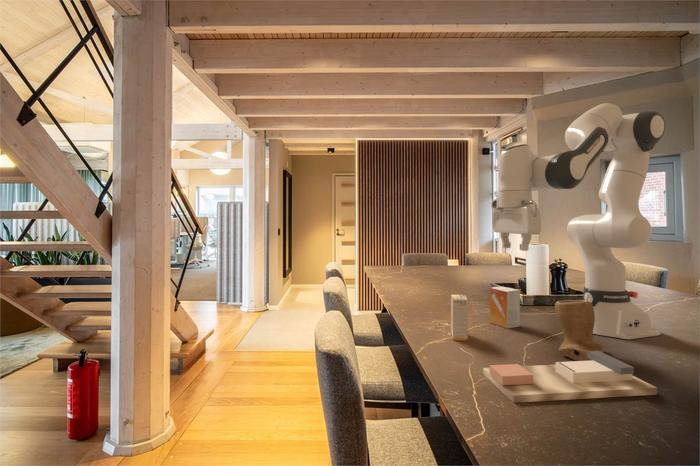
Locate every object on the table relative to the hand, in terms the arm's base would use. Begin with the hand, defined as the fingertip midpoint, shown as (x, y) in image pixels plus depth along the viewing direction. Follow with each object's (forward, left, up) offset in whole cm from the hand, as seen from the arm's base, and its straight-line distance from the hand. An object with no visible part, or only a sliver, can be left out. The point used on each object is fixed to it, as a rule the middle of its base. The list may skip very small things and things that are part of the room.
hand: (514, 249), depth 105 cm
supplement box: (+12, -12, -29) cm, 34 cm away
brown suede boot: (-15, +6, -29) cm, 34 cm away
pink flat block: (+14, +23, -27) cm, 38 cm away
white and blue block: (-6, +23, -28) cm, 36 cm away
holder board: (+1, +23, -29) cm, 37 cm away
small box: (-9, -23, -29) cm, 38 cm away
